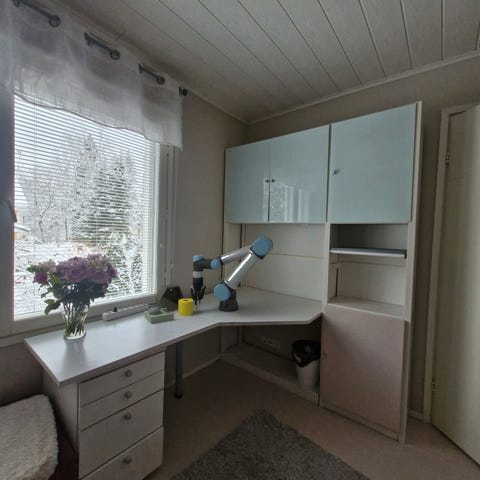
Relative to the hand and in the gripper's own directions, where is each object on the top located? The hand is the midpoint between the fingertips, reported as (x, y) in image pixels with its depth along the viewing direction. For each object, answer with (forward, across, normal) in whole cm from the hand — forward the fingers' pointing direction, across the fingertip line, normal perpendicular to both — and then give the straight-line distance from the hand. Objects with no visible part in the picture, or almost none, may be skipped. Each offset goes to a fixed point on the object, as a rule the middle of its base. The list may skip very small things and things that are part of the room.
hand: (197, 309), depth 184 cm
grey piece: (+2, +28, 0) cm, 28 cm away
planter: (+2, +15, -15) cm, 22 cm away
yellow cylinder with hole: (+2, +9, 0) cm, 9 cm away
